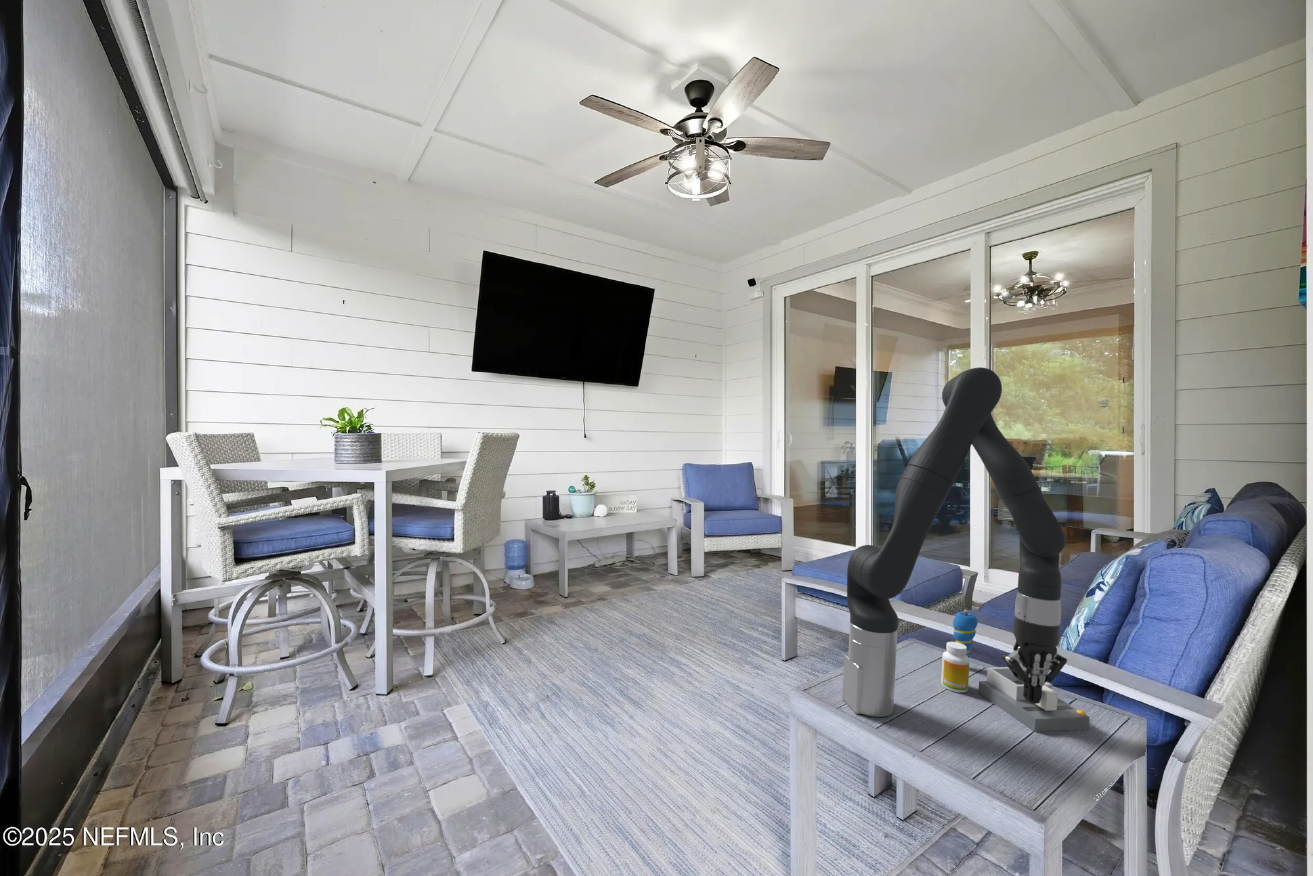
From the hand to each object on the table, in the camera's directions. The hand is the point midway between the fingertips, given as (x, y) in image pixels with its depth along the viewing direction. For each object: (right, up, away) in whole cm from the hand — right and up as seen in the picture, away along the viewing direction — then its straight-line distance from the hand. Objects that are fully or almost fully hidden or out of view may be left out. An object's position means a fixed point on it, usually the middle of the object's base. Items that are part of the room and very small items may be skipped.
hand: (1032, 701), depth 108 cm
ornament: (-1, -3, +23) cm, 24 cm away
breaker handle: (+3, -1, +1) cm, 3 cm away
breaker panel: (+3, -4, +5) cm, 7 cm away
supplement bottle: (-8, -4, +13) cm, 16 cm away
